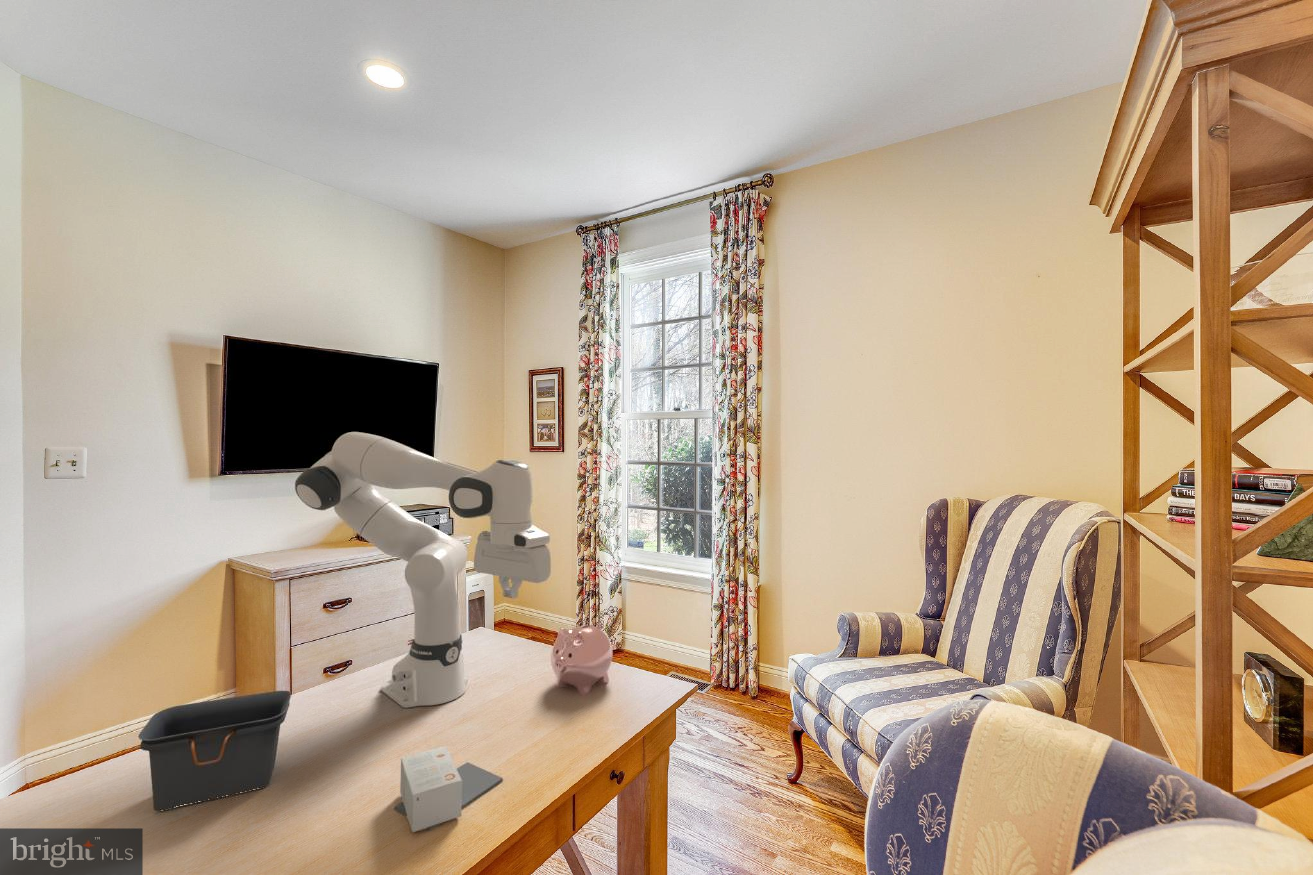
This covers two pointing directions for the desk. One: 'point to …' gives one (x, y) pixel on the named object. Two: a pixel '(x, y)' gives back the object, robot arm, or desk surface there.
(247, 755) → the storage bin
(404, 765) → the small box
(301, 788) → the desk surface
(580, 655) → the piggy bank
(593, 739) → the desk surface
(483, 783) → the mat
